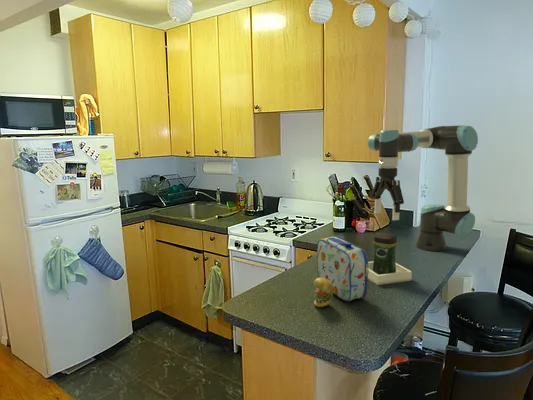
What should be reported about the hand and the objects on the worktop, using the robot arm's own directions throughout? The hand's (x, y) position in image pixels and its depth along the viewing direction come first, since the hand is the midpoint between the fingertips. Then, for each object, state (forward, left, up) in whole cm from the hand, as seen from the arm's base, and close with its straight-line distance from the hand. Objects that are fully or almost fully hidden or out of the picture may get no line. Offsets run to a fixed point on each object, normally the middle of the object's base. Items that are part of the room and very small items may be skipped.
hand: (386, 216), depth 163 cm
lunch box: (+26, +10, -27) cm, 38 cm away
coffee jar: (+1, +1, -26) cm, 26 cm away
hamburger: (+38, +19, -27) cm, 50 cm away
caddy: (+1, +1, -27) cm, 27 cm away
